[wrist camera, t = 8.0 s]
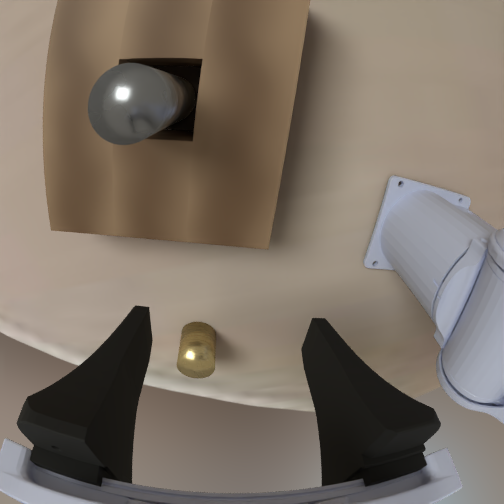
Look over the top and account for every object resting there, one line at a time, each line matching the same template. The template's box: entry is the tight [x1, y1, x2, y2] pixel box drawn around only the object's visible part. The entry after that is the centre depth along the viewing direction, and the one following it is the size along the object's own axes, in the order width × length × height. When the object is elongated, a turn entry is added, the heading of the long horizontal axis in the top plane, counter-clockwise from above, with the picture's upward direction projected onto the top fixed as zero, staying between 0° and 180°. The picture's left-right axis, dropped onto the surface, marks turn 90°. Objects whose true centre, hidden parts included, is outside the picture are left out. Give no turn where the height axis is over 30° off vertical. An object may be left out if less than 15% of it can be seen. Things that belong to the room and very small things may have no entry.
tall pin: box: [88, 63, 196, 145], centre depth 13 cm, size 3×3×9 cm
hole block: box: [43, 0, 310, 249], centre depth 15 cm, size 14×16×4 cm
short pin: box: [177, 322, 216, 378], centre depth 25 cm, size 3×3×4 cm
